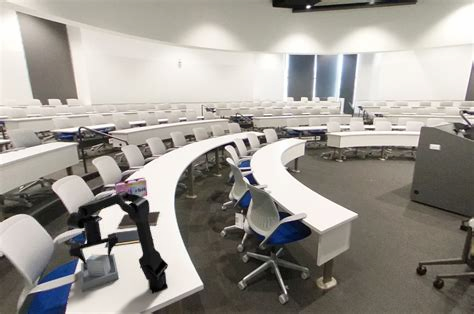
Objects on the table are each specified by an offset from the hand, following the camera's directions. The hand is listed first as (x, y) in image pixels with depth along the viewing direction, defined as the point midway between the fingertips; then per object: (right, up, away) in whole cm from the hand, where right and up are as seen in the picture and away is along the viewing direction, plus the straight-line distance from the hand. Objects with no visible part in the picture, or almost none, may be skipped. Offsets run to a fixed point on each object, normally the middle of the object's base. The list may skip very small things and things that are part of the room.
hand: (97, 260), depth 112 cm
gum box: (-22, +14, +90) cm, 94 cm away
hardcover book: (-1, +4, +51) cm, 52 cm away
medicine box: (0, -7, +1) cm, 7 cm away
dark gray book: (-1, -1, +31) cm, 31 cm away
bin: (0, -7, +2) cm, 7 cm away
